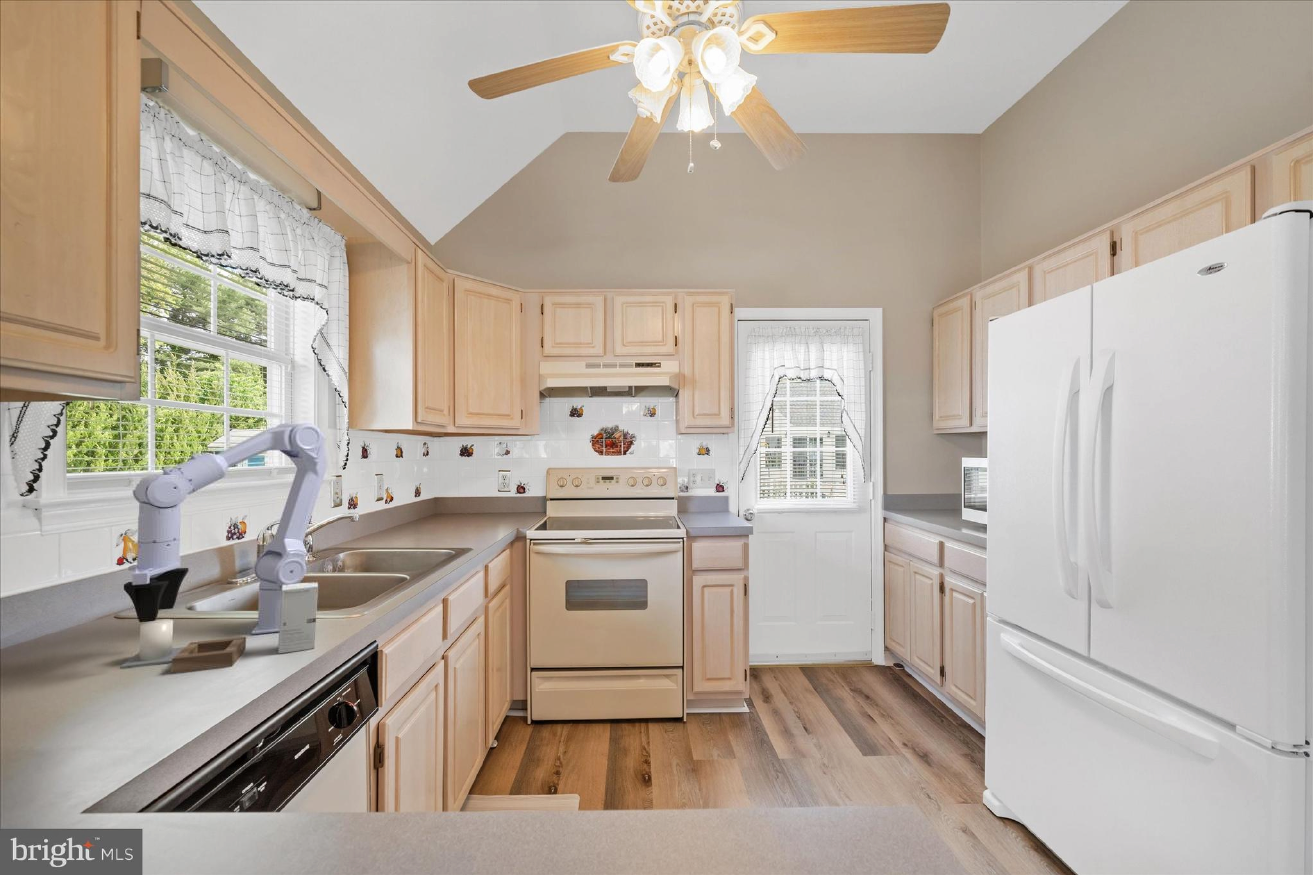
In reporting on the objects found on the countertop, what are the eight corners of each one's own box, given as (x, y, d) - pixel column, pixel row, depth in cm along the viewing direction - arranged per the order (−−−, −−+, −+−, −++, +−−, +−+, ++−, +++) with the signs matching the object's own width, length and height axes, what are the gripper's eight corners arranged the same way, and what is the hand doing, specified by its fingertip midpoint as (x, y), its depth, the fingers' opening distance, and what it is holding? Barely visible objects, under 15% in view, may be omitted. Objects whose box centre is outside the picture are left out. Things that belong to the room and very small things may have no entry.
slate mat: (139, 654, 101) (139, 651, 101) (186, 648, 104) (187, 646, 104) (120, 668, 94) (120, 666, 94) (171, 662, 97) (171, 660, 97)
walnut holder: (190, 655, 100) (190, 642, 101) (245, 649, 104) (245, 636, 104) (171, 673, 93) (172, 658, 93) (231, 666, 96) (232, 652, 96)
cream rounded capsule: (146, 653, 100) (147, 620, 100) (176, 650, 102) (177, 618, 102) (134, 662, 96) (135, 628, 96) (165, 658, 98) (166, 625, 98)
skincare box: (277, 654, 102) (279, 589, 102) (278, 647, 106) (280, 584, 106) (316, 648, 105) (318, 585, 105) (315, 641, 109) (317, 580, 109)
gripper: (148, 535, 104) (146, 605, 104) (109, 549, 91) (107, 630, 91) (194, 533, 107) (192, 602, 107) (163, 546, 94) (161, 625, 94)
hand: (157, 614), depth 99 cm, fingers open, 7 cm apart
